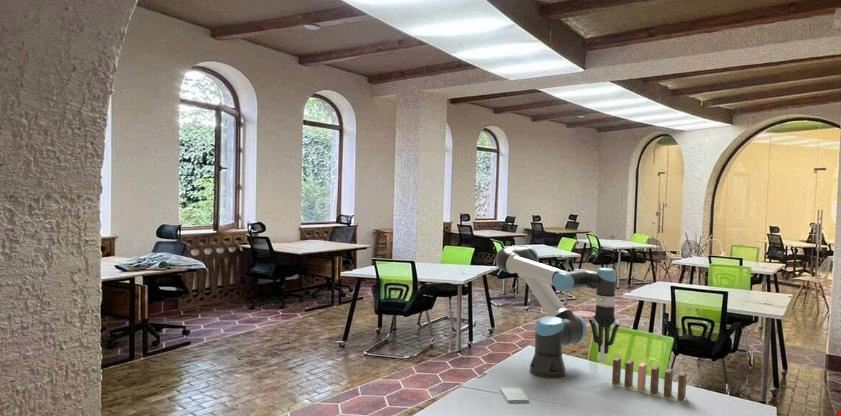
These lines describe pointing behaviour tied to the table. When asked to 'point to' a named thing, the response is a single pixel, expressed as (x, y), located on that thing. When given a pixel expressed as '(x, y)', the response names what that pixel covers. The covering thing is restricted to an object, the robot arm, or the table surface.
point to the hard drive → (514, 395)
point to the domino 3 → (641, 376)
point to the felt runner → (648, 390)
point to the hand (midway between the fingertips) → (602, 360)
